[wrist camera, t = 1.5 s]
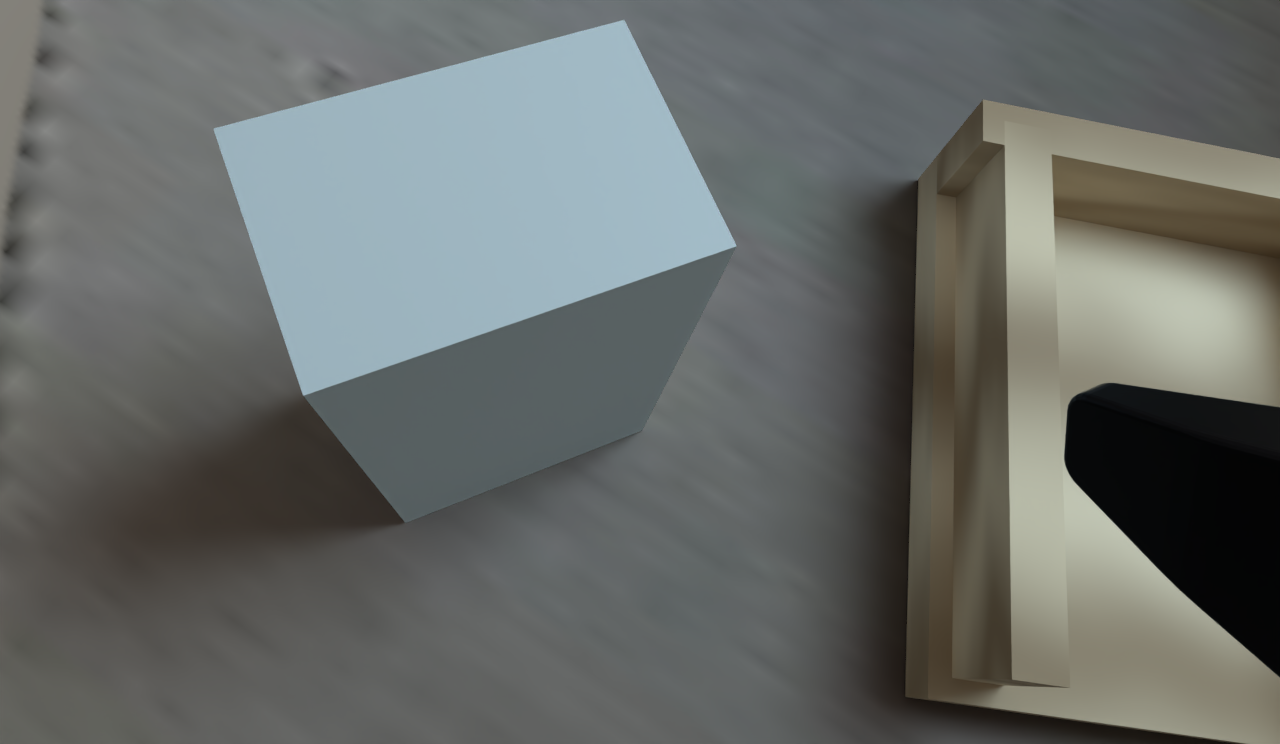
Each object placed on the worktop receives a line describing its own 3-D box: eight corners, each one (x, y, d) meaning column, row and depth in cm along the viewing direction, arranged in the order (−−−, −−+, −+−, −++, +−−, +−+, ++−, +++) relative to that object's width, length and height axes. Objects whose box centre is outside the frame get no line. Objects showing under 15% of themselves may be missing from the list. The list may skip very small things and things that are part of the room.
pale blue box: (642, 430, 21) (737, 245, 12) (405, 523, 20) (302, 395, 11) (581, 290, 22) (624, 20, 13) (351, 369, 21) (213, 129, 12)
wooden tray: (1379, 763, 21) (1581, 786, 17) (905, 696, 20) (1001, 704, 16) (1305, 252, 26) (1451, 175, 22) (918, 179, 25) (995, 84, 21)
